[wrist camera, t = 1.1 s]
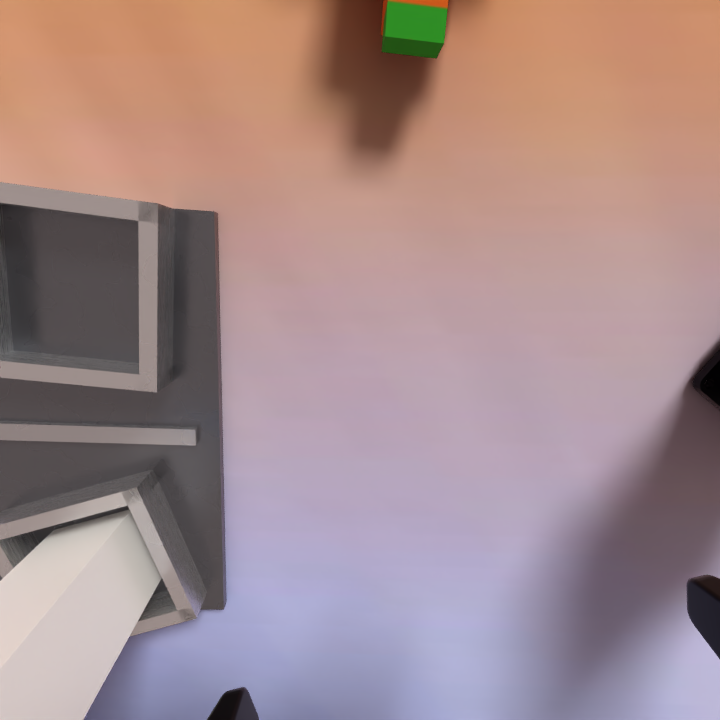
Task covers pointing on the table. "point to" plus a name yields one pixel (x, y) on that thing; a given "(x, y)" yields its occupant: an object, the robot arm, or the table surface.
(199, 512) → the panel
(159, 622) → the gray square frame
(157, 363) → the grey square holder
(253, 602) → the table surface
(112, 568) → the plug
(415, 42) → the toy
